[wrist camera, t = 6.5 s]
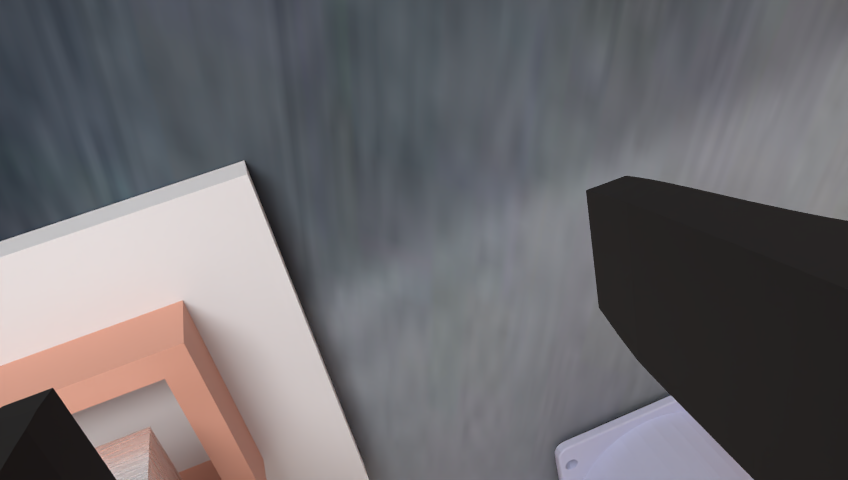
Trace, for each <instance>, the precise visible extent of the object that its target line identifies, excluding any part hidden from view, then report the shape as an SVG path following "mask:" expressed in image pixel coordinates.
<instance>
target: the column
mask: <svg viewBox="0 0 848 480" xmlns="http://www.w3.org/2000/svg"><path fill="white" fill-rule="evenodd" d="M95 449H96V451H97V452H98V454H99V455H100V457H101V458H102V459H103V461H104V462H105V464H106V465H107V467H108V468H109V470H110V471H111V472H112V474H113V475H114V477H115V478H116V480H182V478H181V476H180V475H179V473H178V471H177V470H176V468H175V466H174V465H173V463H172V462H171V460H170V458H169V457H168V455H167V453H166V452H165V450H164V448H163V447H162V445H161V444H160V442H159V440H158V439H157V437H156V435H155V434H154V432H153V431H152V429H151V427H147V428H145V429H142V430H139V431H137V432H134V433H132V434H129V435H126V436H124V437H121V438H119V439H116V440H114V441H111V442H108V443H106V444H103V445H101V446H98V447H95Z"/></svg>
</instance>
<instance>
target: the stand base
mask: <svg viewBox="0 0 848 480" xmlns="http://www.w3.org/2000/svg"><path fill="white" fill-rule="evenodd" d="M51 388H54V390H55V391H56V393H57V394H58V396H59V397H60V398H61V400H62V401H63V403H64V404H65V406H66V407H67V409H68V410H69V412H70V413H71V414H72V416H73V417H74V419H75V420H76V422H77V423H78V425H79V426H80V427H81V429H82V430H83V432H84V433H85V435H86V436H87V438H88V439H89V441H90V442H91V443H92V445H93V446H94V448H95V447H98V446H101V445H103V444H106V443H108V442H111V441H114V440H116V439H119V438H121V437H124V436H126V435H129V434H132V433H134V432H137V431H139V430H142V429H145V428H147V427H151V429H152V431H153V432H154V434H155V435H156V437H157V439H158V440H159V442H160V444H161V445H162V447H163V448H164V450H165V452H166V453H167V455H168V457H169V458H170V460H171V462H172V463H173V465H174V466H175V468H176V470H177V471H178V473H179V475H180V476H181V478H182V480H369V478H368V475H367V472H366V469H365V466H364V463H363V460H362V457H361V455H360V452H359V450H358V447H357V445H356V442H355V440H354V437H353V435H352V432H351V429H350V427H349V424H348V422H347V419H346V417H345V414H344V412H343V409H342V407H341V404H340V402H339V399H338V397H337V394H336V392H335V389H334V386H333V384H332V381H331V379H330V376H329V374H328V371H327V369H326V366H325V364H324V361H323V359H322V356H321V354H320V351H319V349H318V346H317V343H316V341H315V338H314V336H313V333H312V331H311V328H310V326H309V323H308V321H307V318H306V316H305V313H304V311H303V308H302V306H301V303H300V300H299V298H298V295H297V293H296V290H295V288H294V285H293V283H292V280H291V278H290V275H289V273H288V270H287V268H286V265H285V263H284V260H283V257H282V255H281V252H280V250H279V247H278V245H277V242H276V240H275V237H274V235H273V232H272V230H271V227H270V225H269V222H268V220H267V217H266V214H265V212H264V209H263V207H262V204H261V202H260V199H259V197H258V194H257V192H256V189H255V187H254V184H253V182H252V179H251V177H250V174H249V171H248V169H247V166H246V164H245V161H241V162H238V163H235V164H232V165H229V166H226V167H223V168H220V169H217V170H214V171H211V172H208V173H205V174H202V175H199V176H196V177H193V178H190V179H187V180H184V181H181V182H178V183H175V184H172V185H169V186H166V187H163V188H160V189H157V190H154V191H151V192H148V193H145V194H142V195H139V196H136V197H133V198H130V199H127V200H124V201H121V202H118V203H115V204H112V205H109V206H106V207H103V208H100V209H97V210H94V211H91V212H88V213H85V214H82V215H79V216H76V217H73V218H70V219H67V220H64V221H61V222H58V223H55V224H52V225H49V226H46V227H43V228H40V229H37V230H34V231H31V232H28V233H25V234H22V235H19V236H16V237H13V238H10V239H7V240H4V241H0V408H1V407H2V406H5V405H7V404H10V403H13V402H15V401H18V400H21V399H24V398H26V397H29V396H32V395H34V394H37V393H40V392H42V391H45V390H48V389H51Z"/></svg>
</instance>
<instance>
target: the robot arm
mask: <svg viewBox="0 0 848 480" xmlns="http://www.w3.org/2000/svg"><path fill="white" fill-rule="evenodd" d="M586 194H587V203H588V212H589V221H590V230H591V239H592V248H593V257H594V267H595V276H596V285H597V294H598V303H599V308H600V310H601V311H602V312H603V314H604V315H605V317H606V318H607V320H608V321H609V322H610V324H611V325H612V327H613V328H614V329H615V331H616V332H617V334H618V335H619V336H620V338H621V339H622V340H623V342H624V343H625V344H626V346H627V347H628V348H629V349H630V351H631V352H632V353H633V355H634V356H635V357H636V359H637V360H638V361H639V362H640V363H641V364H642V366H643V367H644V368H645V369H646V370H647V371H648V372H649V373H650V374H651V375H652V376H653V377H654V378H655V379H656V380H657V381H658V382H659V383H660V384H661V385H662V386H663V388H664V389H665V390H666V391H667V392H668V393H669V394H670V396H668V397H666V398H663V399H661V400H659V401H656V402H654V403H652V404H649V405H647V406H645V407H643V408H640V409H638V410H636V411H633V412H631V413H629V414H626V415H624V416H622V417H619V418H617V419H615V420H612V421H610V422H608V423H605V424H603V425H601V426H598V427H596V428H594V429H592V430H589V431H587V432H585V433H582V434H580V435H578V436H575V437H573V438H571V439H568V440H566V441H564V442H562V443H560V444H559V445H558V447H557V448H556V450H555V459H556V465H557V471H558V476H559V480H848V221H845V220H839V219H834V218H828V217H823V216H818V215H813V214H808V213H802V212H797V211H792V210H788V209H783V208H778V207H774V206H769V205H764V204H760V203H755V202H751V201H746V200H742V199H737V198H733V197H729V196H724V195H720V194H715V193H711V192H707V191H702V190H698V189H693V188H689V187H684V186H680V185H675V184H671V183H666V182H661V181H656V180H651V179H645V178H639V177H631V176H624V177H621V178H619V179H616V180H613V181H610V182H608V183H605V184H602V185H600V186H597V187H594V188H591V189H589V190H586ZM0 480H116V478H115V477H114V475H113V474H112V472H111V471H110V470H109V468H108V467H107V465H106V464H105V462H104V461H103V459H102V458H101V457H100V455H99V454H98V452H97V451H96V449H95V448H94V446H93V445H92V443H91V442H90V441H89V439H88V438H87V436H86V435H85V433H84V432H83V430H82V429H81V427H80V426H79V425H78V423H77V422H76V420H75V419H74V417H73V416H72V414H71V413H70V412H69V410H68V409H67V407H66V406H65V404H64V403H63V401H62V400H61V398H60V397H59V396H58V394H57V393H56V391H55V390H54V388H51V389H48V390H45V391H42V392H40V393H37V394H34V395H32V396H29V397H26V398H24V399H21V400H18V401H15V402H13V403H10V404H7V405H5V406H2V407H1V408H0Z"/></svg>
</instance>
